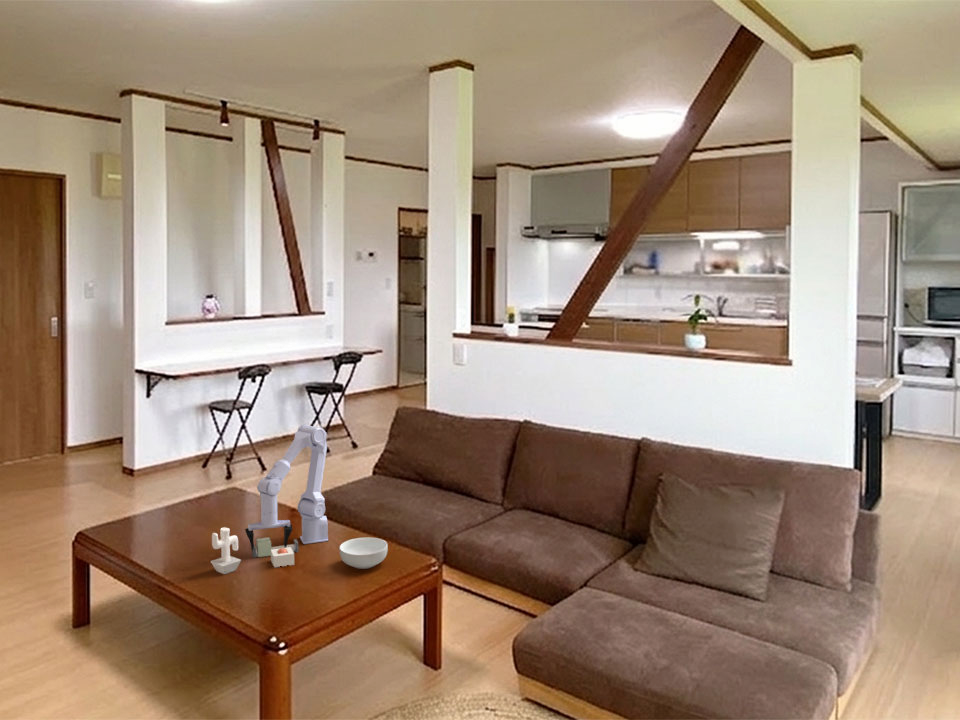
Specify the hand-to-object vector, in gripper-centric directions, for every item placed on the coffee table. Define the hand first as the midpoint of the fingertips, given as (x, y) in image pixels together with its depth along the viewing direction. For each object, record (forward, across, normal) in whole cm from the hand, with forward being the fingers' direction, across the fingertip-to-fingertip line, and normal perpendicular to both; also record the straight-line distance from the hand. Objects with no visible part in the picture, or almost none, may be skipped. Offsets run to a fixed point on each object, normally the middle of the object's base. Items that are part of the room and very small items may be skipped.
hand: (269, 547), depth 282 cm
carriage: (+2, +2, 0) cm, 3 cm away
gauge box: (+2, -3, +10) cm, 11 cm away
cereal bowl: (+2, -29, +23) cm, 37 cm away
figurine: (+3, +16, +11) cm, 20 cm away
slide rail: (+2, -2, 0) cm, 3 cm away
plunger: (+2, -3, +10) cm, 11 cm away
